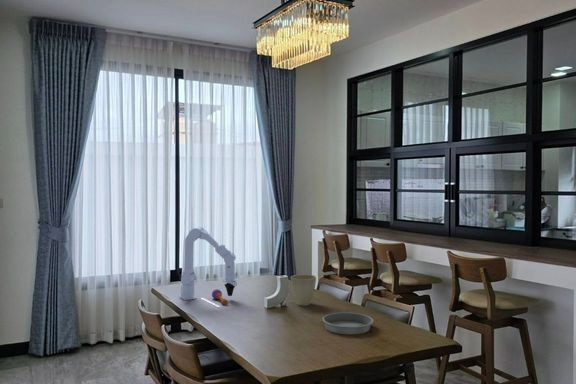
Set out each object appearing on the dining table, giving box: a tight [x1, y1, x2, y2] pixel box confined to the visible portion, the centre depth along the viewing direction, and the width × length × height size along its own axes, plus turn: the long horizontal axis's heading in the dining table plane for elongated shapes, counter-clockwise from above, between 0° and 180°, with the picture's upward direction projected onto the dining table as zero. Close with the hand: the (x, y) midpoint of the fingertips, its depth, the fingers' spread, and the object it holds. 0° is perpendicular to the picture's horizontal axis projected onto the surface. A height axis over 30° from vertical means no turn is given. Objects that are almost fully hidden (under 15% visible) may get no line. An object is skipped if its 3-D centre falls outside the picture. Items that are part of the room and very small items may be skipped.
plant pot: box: [290, 274, 317, 307], centre depth 281 cm, size 15×15×16 cm
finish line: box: [200, 297, 221, 308], centre depth 286 cm, size 26×2×1 cm, turn 32°
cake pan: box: [321, 312, 374, 335], centre depth 235 cm, size 25×25×4 cm
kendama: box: [211, 289, 229, 306], centre depth 289 cm, size 6×6×20 cm
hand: (229, 295), depth 293 cm, fingers closed
